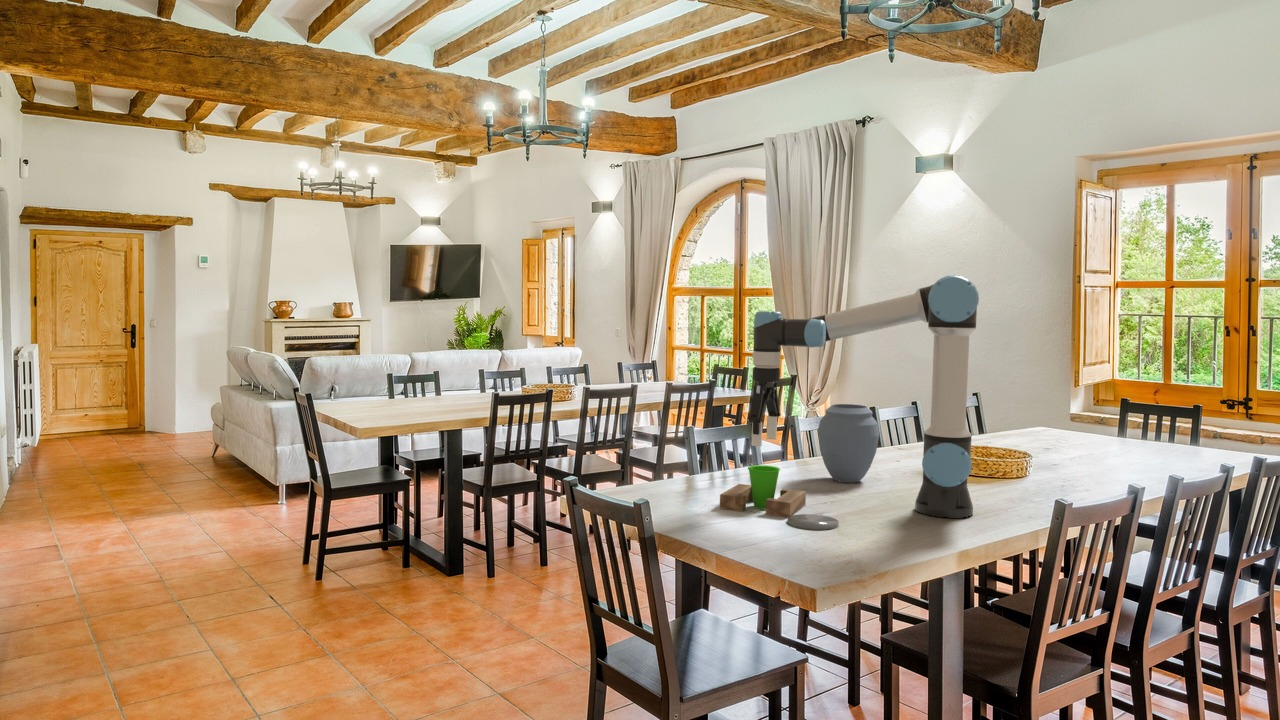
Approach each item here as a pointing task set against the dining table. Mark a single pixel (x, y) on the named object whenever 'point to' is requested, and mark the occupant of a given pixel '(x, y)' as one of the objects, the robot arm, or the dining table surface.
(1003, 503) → the dining table surface
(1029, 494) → the dining table surface
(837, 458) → the vase
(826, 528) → the coaster
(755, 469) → the cup
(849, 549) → the dining table surface
